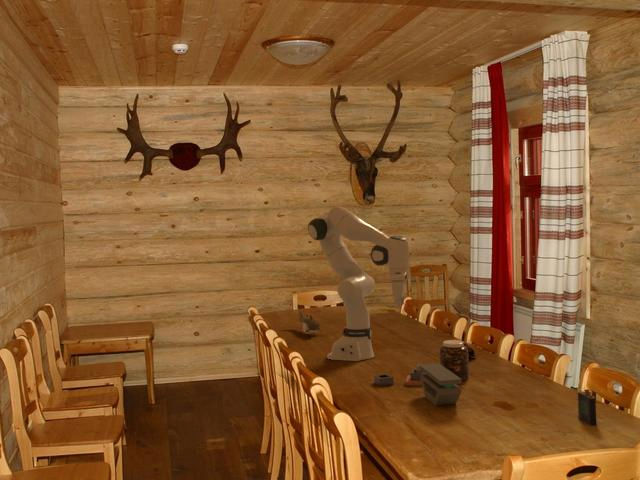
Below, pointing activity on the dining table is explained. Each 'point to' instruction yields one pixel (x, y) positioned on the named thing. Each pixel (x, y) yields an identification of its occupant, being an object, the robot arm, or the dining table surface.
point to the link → (416, 374)
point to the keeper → (413, 382)
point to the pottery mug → (470, 351)
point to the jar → (455, 358)
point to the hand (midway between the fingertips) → (400, 306)
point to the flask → (587, 407)
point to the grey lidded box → (440, 384)
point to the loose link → (383, 379)
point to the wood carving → (308, 323)
